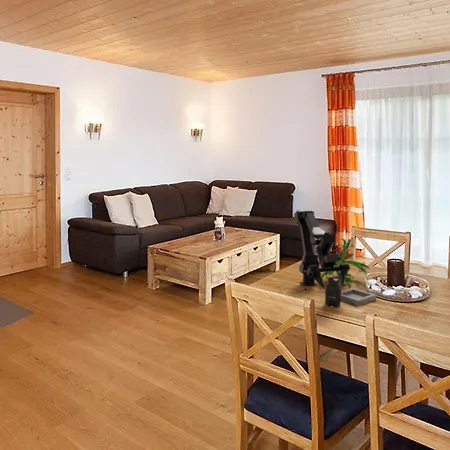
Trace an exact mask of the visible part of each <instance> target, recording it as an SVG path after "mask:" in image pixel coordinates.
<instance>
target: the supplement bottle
mask: <svg viewBox="0 0 450 450" xmlns="http://www.w3.org/2000/svg"><path fill="white" fill-rule="evenodd" d="M324 289H325V291H324V292H325V294H324V304H325V305H326V306H327V305H328V306H327V307H330V306H333V307H332V308H337V307H336V306H338V307H340V306H341V304H342V302H341V301H342V300H341V291H342V285H341V283H340V279H339V277H337V276H336V277H335V276H334V277H333V276H331V277H330V276H329V277H328V279H327V284H326V285H325V288H324Z"/></svg>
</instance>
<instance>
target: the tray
mask: <svg viewBox="0 0 450 450" xmlns="http://www.w3.org/2000/svg"><path fill="white" fill-rule="evenodd" d="M375 300H377V294H375V293H371V292H367V291H364V290H360V289H359V288H358V289H357V288H355V287H352V288H348V289H345V290H341V301H343V302H346V303H349V304H352V305H355V306H361V305H364V304H367V303H370V302H373V301H375Z"/></svg>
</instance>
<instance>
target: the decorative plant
mask: <svg viewBox="0 0 450 450" xmlns="http://www.w3.org/2000/svg"><path fill="white" fill-rule="evenodd" d="M340 240H341V241H342V242H343V243H342V244H340V246H339V247H338V249H337V250H336V253H340V255H341V260H339V261H338V262H335V263H336V265H334V267H339V265H340V264H345V263H347V264H349V265H351V266H353V267H355V268H357V269H358V272H356V275H359V274H361V273H362V272H363V273H364V274H363V276H364V277H366V276H367V273H368V272H367V270H369V269H370V267H369V266H368V265H366V262H364V261H362V262H361V261H357V260H352V259H350V258H352V257H353V256H354V255H355V253H349V251H350V249H351V248H355V246H354V245H353V244H351V241H352V239H351V238H349V239H348V240H347V241H346V239H345V238H342V239H340ZM340 248H342V250H341V249H340ZM366 269H367V270H366ZM334 273H335V274H336V276H335V275H334ZM320 275H321V278H322V281H323V285H325V281H324V277H325V279H326V280H328V278H329V277H330V276H334V277H336V278H337V277H338V275H339V274H338V272H337V271H333V272H320ZM354 276H355V275H354V274H353V276H352V274H351V273H349V272H348V273H347V274H345V276H344V285H345V284H346V282H348V285H351V283H352V280H353V279H354Z"/></svg>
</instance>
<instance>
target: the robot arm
mask: <svg viewBox="0 0 450 450" xmlns="http://www.w3.org/2000/svg"><path fill="white" fill-rule="evenodd" d="M314 211H315V210H312V209H302V210H299V209H297V210H296V211H295V212H294V214H293V217H294V221H295V223H296V225H297V227H299V230H300V236H301V244H302V250H303V256H302V258H301V263H300V264H299V266H298V269H299V270H298V271H299V272H300V273H301V274H302V281H300V282H299V283H300V284H302V285H303V286H306V287H309V286H316V285H318V284H319V286H320V287H321V288H324V287H325V284H323V281H324V280H323V281H322V278H321V275H322V274H321V275H320V272H321V273H325V272H333V271H335V272H336V271H337V272H338V274H339V275H338V276H337V278H339V279H340V280H339V282H340V283H339V284H340V285H341V287H344V285H345V284H344V276H345V274H347V273H349V271H350V269H351V266H350V264H348V263H345V264H340V265H339V267H334V265H336V263H335V262H338V261H339V260H341V255H340V253H337V252H336V253H334V254H331V253H330V250H332V248H333V246H334V244H335V242H336V237H335V236H334V235H332V234H330V232H329V231H327V232H326V231H325V230H323V229H322V228H321V227H320V225H319V223H318V221H317V218H316V216H315V212H314ZM313 246H316V248H315V253H314V250H313ZM315 281H316V282H315Z"/></svg>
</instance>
